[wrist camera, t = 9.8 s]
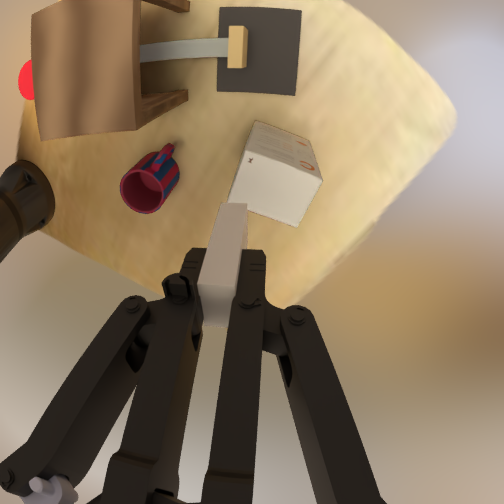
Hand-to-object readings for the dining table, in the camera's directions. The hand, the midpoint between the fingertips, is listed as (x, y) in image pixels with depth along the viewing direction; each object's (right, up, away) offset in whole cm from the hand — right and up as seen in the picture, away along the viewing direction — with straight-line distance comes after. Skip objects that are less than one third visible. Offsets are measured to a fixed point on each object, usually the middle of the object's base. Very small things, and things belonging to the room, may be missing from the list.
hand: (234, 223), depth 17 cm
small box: (+4, +12, +21) cm, 25 cm away
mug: (-12, +11, +24) cm, 29 cm away
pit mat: (+2, +23, +12) cm, 27 cm away
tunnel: (-17, +25, +13) cm, 33 cm away
